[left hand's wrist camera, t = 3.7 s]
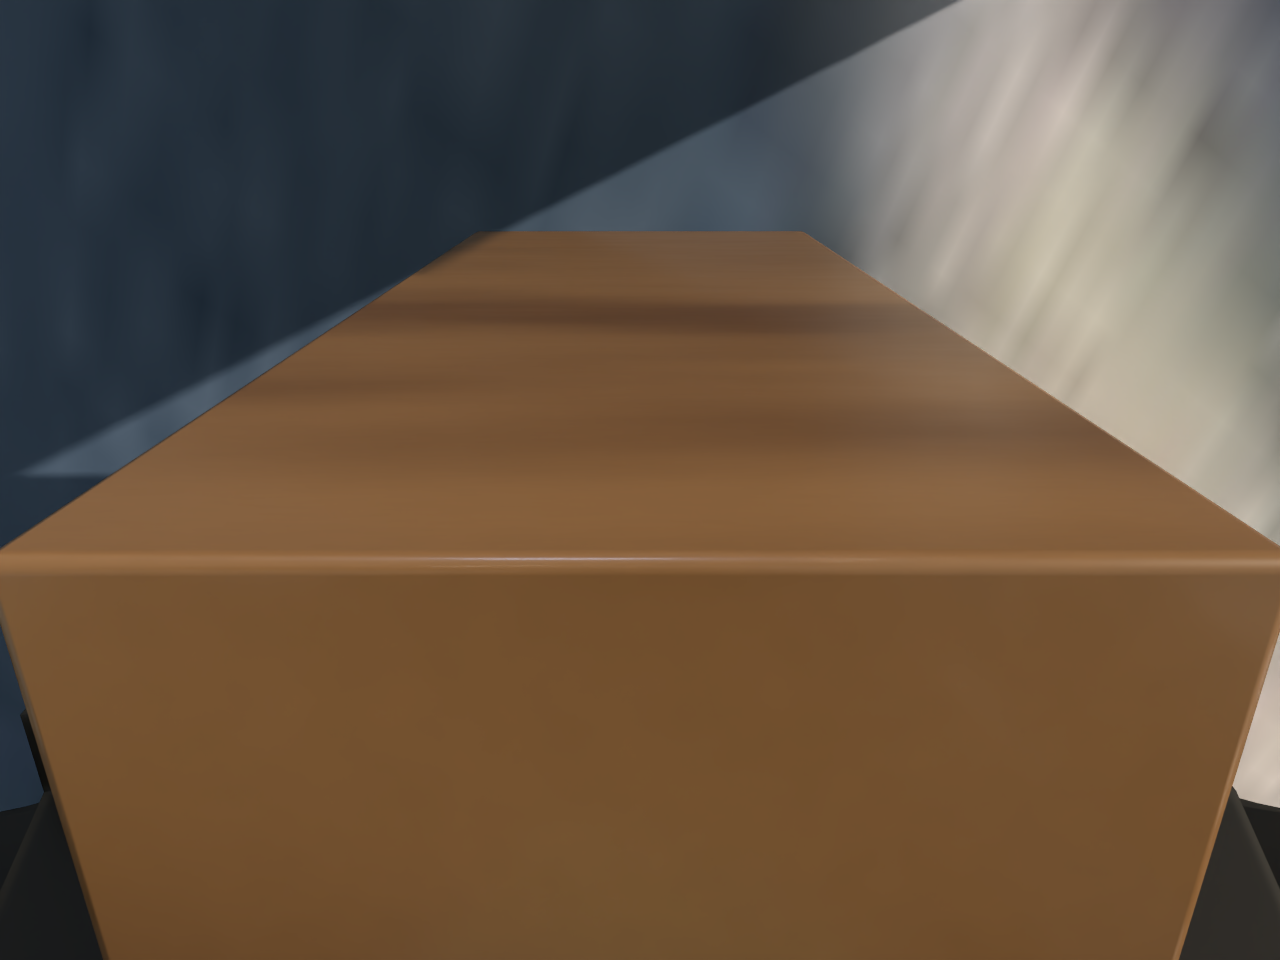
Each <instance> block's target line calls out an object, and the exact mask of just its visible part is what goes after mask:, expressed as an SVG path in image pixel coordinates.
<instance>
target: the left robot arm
mask: <svg viewBox="0 0 1280 960" xmlns="http://www.w3.org/2000/svg"><path fill="white" fill-rule="evenodd" d="M20 716H21V719H22V722H23V726H24V729H25V732H26V735H27V738H28V742H29V745H30V748H31V751H32V755H33V758H34V761H35V764H36V767H37V771H38V774H39V777H40V780H41V783H42V787H43V790H44V794H43V796H42V798H41V801H40V803H37V804H33V805H29V806H26V807H21V808H17V809H12V810H7V811H2V812H0V960H103V958H102V954H101V951H100V948H99V945H98V941H97V938H96V935H95V931H94V928H93V925H92V922H91V918H90V915H89V912H88V909H87V905H86V902H85V899H84V896H83V892H82V889H81V886H80V883H79V879H78V876H77V873H76V870H75V866H74V863H73V860H72V856H71V853H70V850H69V847H68V843H67V840H66V837H65V834H64V830H63V827H62V824H61V821H60V817H59V814H58V811H57V808H56V804H55V801H54V798H53V795H52V791H51V788H50V785H49V781H48V778H47V775H46V772H45V768H44V765H43V762H42V759H41V755H40V752H39V749H38V746H37V742H36V739H35V736H34V733H33V729H32V726H31V723H30V720H29V716H28V713H27V710H26V709H25V710H24V711H23V713H22V714H21V715H20ZM1179 960H1280V808H1278V807H1273V806H1268V805H1263V804H1258V803H1255V802H1251V801H1247V800H1244V799H1240V798H1239V797H1238V794H1237V792H1236V790H1235V789H1234V788H1233V786H1232V788H1231V791H1230V794H1229V798H1228V801H1227V804H1226V807H1225V811H1224V814H1223V817H1222V820H1221V824H1220V827H1219V830H1218V833H1217V837H1216V840H1215V843H1214V846H1213V850H1212V853H1211V856H1210V859H1209V863H1208V866H1207V869H1206V872H1205V876H1204V879H1203V882H1202V886H1201V889H1200V892H1199V895H1198V899H1197V902H1196V905H1195V908H1194V912H1193V915H1192V918H1191V921H1190V925H1189V928H1188V931H1187V934H1186V938H1185V941H1184V944H1183V947H1182V951H1181V954H1180V957H1179Z"/></svg>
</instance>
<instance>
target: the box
mask: <svg viewBox="0 0 1280 960" xmlns="http://www.w3.org/2000/svg"><path fill="white" fill-rule="evenodd" d="M0 625H1V628H2V631H3V635H4V638H5V641H6V645H7V648H8V651H9V654H10V658H11V661H12V664H13V667H14V671H15V674H16V677H17V680H18V684H19V687H20V690H21V693H22V697H23V700H24V703H25V706H26V710H27V713H28V716H29V720H30V723H31V726H32V729H33V733H34V736H35V739H36V742H37V746H38V749H39V752H40V755H41V759H42V762H43V765H44V768H45V772H46V775H47V778H48V781H49V785H50V788H51V791H52V795H53V798H54V801H55V804H56V808H57V811H58V814H59V817H60V821H61V824H62V827H63V830H64V834H65V837H66V840H67V843H68V847H69V850H70V853H71V856H72V860H73V863H74V866H75V870H76V873H77V876H78V879H79V883H80V886H81V889H82V892H83V896H84V899H85V902H86V905H87V909H88V912H89V915H90V918H91V922H92V925H93V928H94V931H95V935H96V938H97V941H98V945H99V948H100V951H101V954H102V958H103V960H1179V957H1180V954H1181V951H1182V947H1183V944H1184V941H1185V938H1186V934H1187V931H1188V928H1189V925H1190V921H1191V918H1192V915H1193V912H1194V908H1195V905H1196V902H1197V899H1198V895H1199V892H1200V889H1201V886H1202V882H1203V879H1204V876H1205V872H1206V869H1207V866H1208V863H1209V859H1210V856H1211V853H1212V850H1213V846H1214V843H1215V840H1216V837H1217V833H1218V830H1219V827H1220V824H1221V820H1222V817H1223V814H1224V811H1225V807H1226V804H1227V801H1228V798H1229V794H1230V791H1231V788H1232V785H1233V781H1234V778H1235V775H1236V772H1237V768H1238V765H1239V762H1240V759H1241V755H1242V752H1243V749H1244V746H1245V742H1246V739H1247V736H1248V733H1249V729H1250V726H1251V723H1252V720H1253V716H1254V713H1255V710H1256V707H1257V703H1258V700H1259V697H1260V694H1261V690H1262V687H1263V684H1264V681H1265V677H1266V674H1267V671H1268V668H1269V664H1270V661H1271V658H1272V655H1273V651H1274V648H1275V645H1276V642H1277V638H1278V635H1279V632H1280V546H1279V545H1277V544H1276V543H1274V542H1272V541H1271V540H1269V539H1268V538H1266V537H1265V536H1263V535H1262V534H1260V533H1259V532H1257V531H1256V530H1254V529H1253V528H1251V527H1250V526H1248V525H1247V524H1245V523H1244V522H1242V521H1241V520H1239V519H1238V518H1236V517H1235V516H1233V515H1232V514H1230V513H1229V512H1227V511H1226V510H1224V509H1222V508H1221V507H1219V506H1218V505H1216V504H1215V503H1213V502H1212V501H1210V500H1209V499H1207V498H1206V497H1204V496H1203V495H1201V494H1200V493H1198V492H1197V491H1195V490H1194V489H1192V488H1191V487H1189V486H1188V485H1186V484H1185V483H1183V482H1182V481H1180V480H1179V479H1177V478H1176V477H1174V476H1172V475H1171V474H1169V473H1168V472H1166V471H1165V470H1163V469H1162V468H1160V467H1159V466H1157V465H1156V464H1154V463H1153V462H1151V461H1150V460H1148V459H1147V458H1145V457H1144V456H1142V455H1141V454H1139V453H1138V452H1136V451H1135V450H1133V449H1132V448H1130V447H1129V446H1127V445H1126V444H1124V443H1122V442H1121V441H1119V440H1118V439H1116V438H1115V437H1113V436H1112V435H1110V434H1109V433H1107V432H1106V431H1104V430H1103V429H1101V428H1100V427H1098V426H1097V425H1095V424H1094V423H1092V422H1091V421H1089V420H1088V419H1086V418H1085V417H1083V416H1082V415H1080V414H1079V413H1077V412H1076V411H1074V410H1072V409H1071V408H1069V407H1068V406H1066V405H1065V404H1063V403H1062V402H1060V401H1059V400H1057V399H1056V398H1054V397H1053V396H1051V395H1050V394H1048V393H1047V392H1045V391H1044V390H1042V389H1041V388H1039V387H1038V386H1036V385H1035V384H1033V383H1032V382H1030V381H1029V380H1027V379H1026V378H1024V377H1022V376H1021V375H1019V374H1018V373H1016V372H1015V371H1013V370H1012V369H1010V368H1009V367H1007V366H1006V365H1004V364H1003V363H1001V362H1000V361H998V360H997V359H995V358H994V357H992V356H991V355H989V354H988V353H986V352H985V351H983V350H982V349H980V348H979V347H977V346H976V345H974V344H972V343H971V342H969V341H968V340H966V339H965V338H963V337H962V336H960V335H959V334H957V333H956V332H954V331H953V330H951V329H950V328H948V327H947V326H945V325H944V324H942V323H941V322H939V321H938V320H936V319H935V318H933V317H932V316H930V315H929V314H927V313H925V312H924V311H922V310H921V309H919V308H918V307H916V306H915V305H913V304H912V303H910V302H909V301H907V300H906V299H904V298H903V297H901V296H900V295H898V294H897V293H895V292H894V291H892V290H891V289H889V288H888V287H886V286H885V285H883V284H882V283H880V282H879V281H877V280H875V279H874V278H872V277H871V276H869V275H868V274H866V273H865V272H863V271H862V270H860V269H859V268H857V267H856V266H854V265H853V264H851V263H850V262H848V261H847V260H845V259H844V258H842V257H841V256H839V255H838V254H836V253H835V252H833V251H832V250H830V249H829V248H827V247H825V246H824V245H822V244H821V243H819V242H818V241H816V240H815V239H813V238H812V237H810V236H809V235H807V234H806V233H804V232H802V231H478V232H476V233H474V234H473V235H471V236H470V237H468V238H467V239H465V240H464V241H462V242H461V243H459V244H458V245H456V246H455V247H453V248H452V249H450V250H449V251H447V252H446V253H444V254H443V255H441V256H440V257H438V258H437V259H435V260H434V261H432V262H431V263H429V264H428V265H426V266H425V267H423V268H422V269H420V270H419V271H417V272H416V273H414V274H412V275H411V276H409V277H408V278H406V279H405V280H403V281H402V282H400V283H399V284H397V285H396V286H394V287H393V288H391V289H390V290H388V291H387V292H385V293H384V294H382V295H381V296H379V297H378V298H376V299H375V300H373V301H372V302H370V303H369V304H367V305H366V306H364V307H363V308H361V309H360V310H358V311H357V312H355V313H354V314H352V315H351V316H349V317H348V318H346V319H345V320H343V321H342V322H340V323H339V324H337V325H336V326H334V327H333V328H331V329H330V330H328V331H327V332H325V333H324V334H322V335H321V336H319V337H318V338H316V339H315V340H313V341H312V342H310V343H309V344H307V345H306V346H304V347H302V348H301V349H299V350H298V351H296V352H295V353H293V354H292V355H290V356H289V357H287V358H286V359H284V360H283V361H281V362H280V363H278V364H277V365H275V366H274V367H272V368H271V369H269V370H268V371H266V372H265V373H263V374H262V375H260V376H259V377H257V378H256V379H254V380H253V381H251V382H250V383H248V384H247V385H245V386H244V387H242V388H241V389H239V390H238V391H236V392H235V393H233V394H232V395H230V396H229V397H227V398H226V399H224V400H223V401H221V402H220V403H218V404H217V405H215V406H214V407H212V408H211V409H209V410H208V411H206V412H205V413H203V414H202V415H200V416H199V417H197V418H196V419H194V420H193V421H191V422H189V423H188V424H186V425H185V426H183V427H182V428H180V429H179V430H177V431H176V432H174V433H173V434H171V435H170V436H168V437H167V438H165V439H164V440H162V441H161V442H159V443H158V444H156V445H155V446H153V447H152V448H150V449H149V450H147V451H146V452H144V453H143V454H141V455H140V456H138V457H137V458H135V459H134V460H132V461H131V462H129V463H128V464H126V465H125V466H123V467H122V468H120V469H119V470H117V471H116V472H114V473H113V474H111V475H110V476H108V477H107V478H105V479H104V480H102V481H101V482H99V483H98V484H96V485H95V486H93V487H92V488H90V489H89V490H87V491H86V492H84V493H83V494H81V495H79V496H78V497H76V498H75V499H73V500H72V501H70V502H69V503H67V504H66V505H64V506H63V507H61V508H60V509H58V510H57V511H55V512H54V513H52V514H51V515H49V516H48V517H46V518H45V519H43V520H42V521H40V522H39V523H37V524H36V525H34V526H33V527H31V528H30V529H28V530H27V531H25V532H24V533H22V534H21V535H19V536H18V537H16V538H15V539H13V540H12V541H10V542H9V543H7V544H6V545H4V546H3V547H1V548H0Z"/></svg>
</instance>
